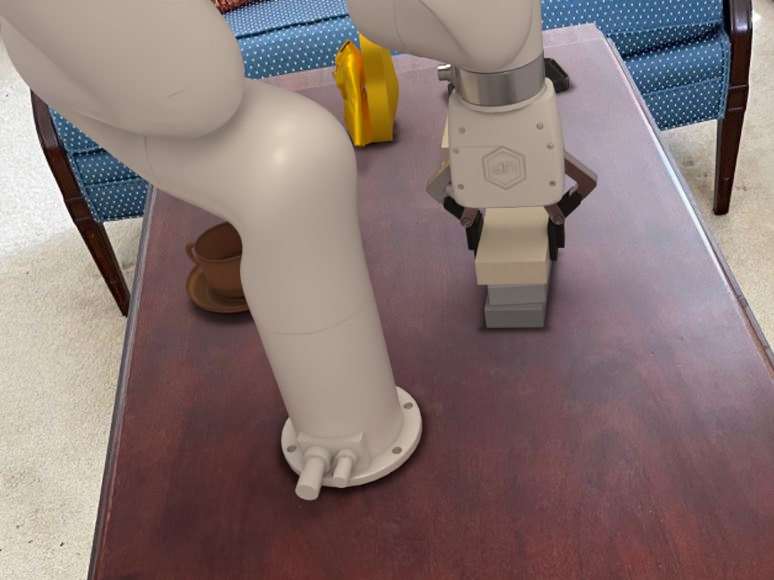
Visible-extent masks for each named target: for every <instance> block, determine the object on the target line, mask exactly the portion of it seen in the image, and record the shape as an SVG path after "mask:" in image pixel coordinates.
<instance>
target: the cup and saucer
mask: <svg viewBox="0 0 774 580" xmlns="http://www.w3.org/2000/svg"><path fill="white" fill-rule="evenodd" d="M184 249H185V253H186V255H187V257H188V259H190V261H192V263H194V264H196V265H195V266H194V267H193V268H192V269H191V271H190V272H189V274H188V276H187V277H186V280H185V291H186V294H187V296H188V298H189V300H191V301H192V303H194V304H195V305H196V306H198V307H199V308H201V309H204V310H205V311H211V312H214V313H220V314H234V313H235V314H236V313H244V312H248V311H250V309H249V306H248V304H247V301H246V298H245V295H244V291H243V287H242V283H241V277H240V265H241V258H242V249H243V246H242V240H241V237H240V235H239V233H238V231H237V230H236V229H235V227H234V226H233V225H232V224H231V223H229V222H228V221H223V222H220V223H217V224H215V225H213V226H210V227H209V228H208V229H206V230H204V231H203V232H202V233H200V235H198V237H197V239H195V241H194V240H191V241H188V242H187V243H186V245H185V248H184ZM192 249H193V251H194V253H193V251H192Z"/></svg>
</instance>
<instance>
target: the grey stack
mask: <svg viewBox="0 0 774 580" xmlns="http://www.w3.org/2000/svg"><path fill="white" fill-rule="evenodd" d="M552 265H553V261H551V260H550V264H549V271H548V278H547V284H500V285H487V295H486V300H485V305H484V309H483V312H484V319H485V327H486V328H487V329H488V328H489V329H490V328H491V329H492V328H493V329H494V328H495V329H496V328H498V329H499V328H500V329H502V328H506V329H507V328H544V326H545V319H546V311H547V303H548V295H549V290H550V289H549V288H550V281H551V274H552V273H551V272H552Z"/></svg>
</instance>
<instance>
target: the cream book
mask: <svg viewBox="0 0 774 580" xmlns="http://www.w3.org/2000/svg"><path fill="white" fill-rule="evenodd" d="M548 218H549V215H548V213H547V212H546V210H545V208H544V207H543V206H542V207H519V208H486V209H485V214H484V217H483V221H484V224H483V228H482V233H481V237H480V241H479V245H478V250H477V254H476V259H475V258H474V268H475V274H476V283H477V286H488V285H500V284H547V278H548V271H549V264H550V256H549V241H548V233H547V225H548Z"/></svg>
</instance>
